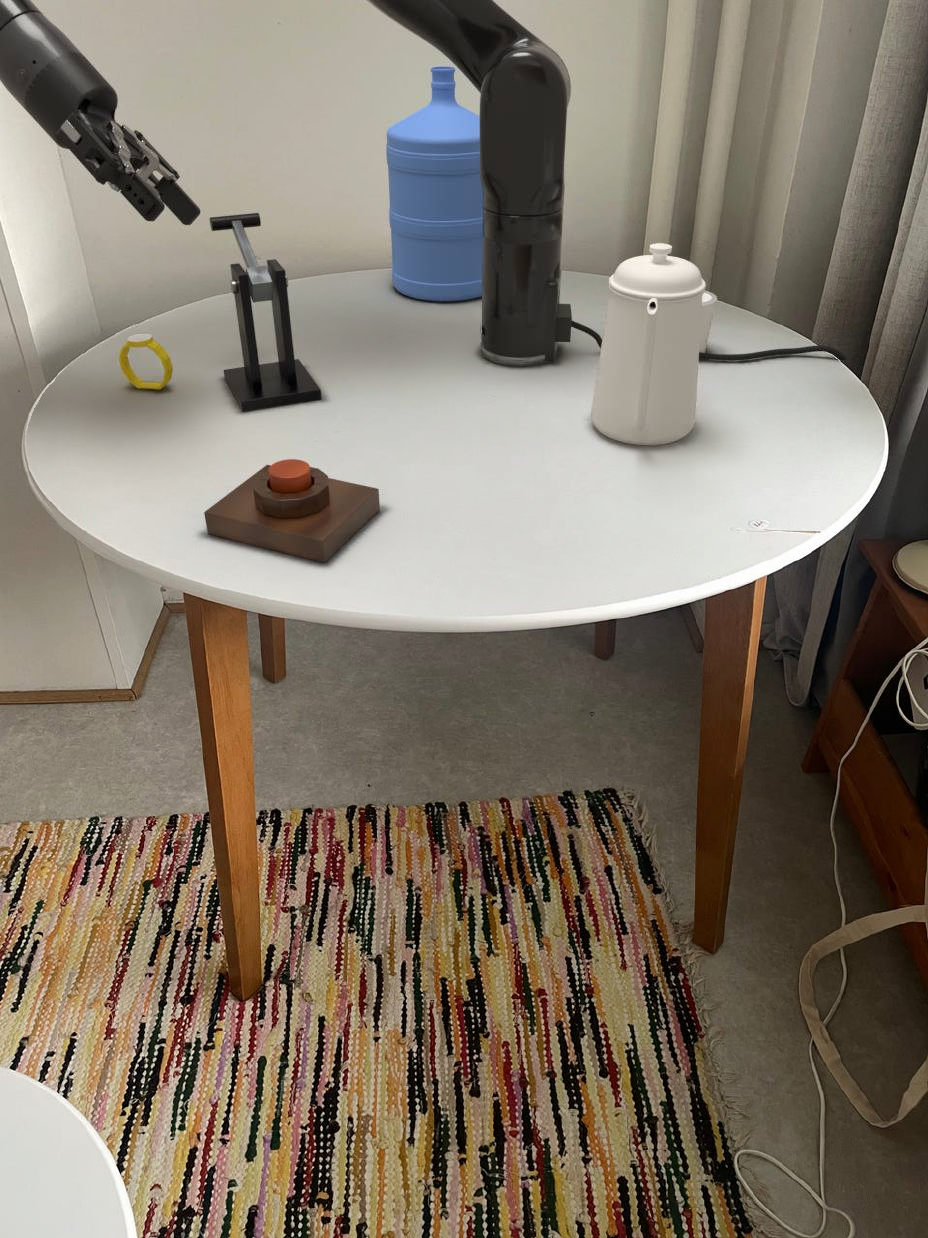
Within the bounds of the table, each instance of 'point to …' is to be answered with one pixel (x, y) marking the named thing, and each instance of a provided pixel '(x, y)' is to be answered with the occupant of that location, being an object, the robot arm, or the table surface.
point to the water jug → (436, 198)
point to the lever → (247, 253)
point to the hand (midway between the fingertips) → (176, 217)
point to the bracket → (288, 375)
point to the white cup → (706, 318)
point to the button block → (294, 515)
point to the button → (290, 476)
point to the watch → (148, 341)
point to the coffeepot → (650, 350)
